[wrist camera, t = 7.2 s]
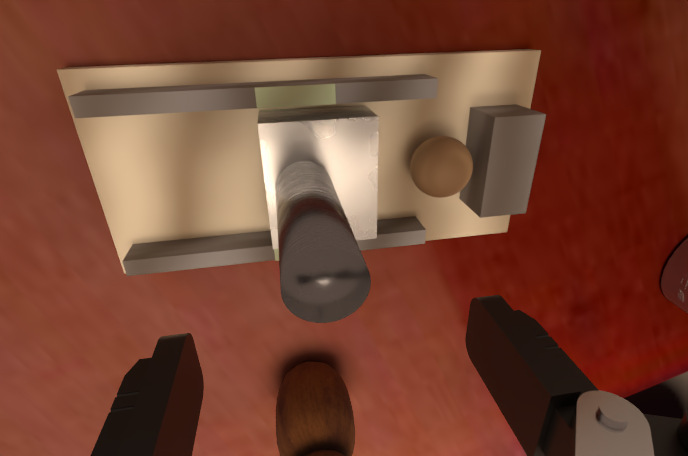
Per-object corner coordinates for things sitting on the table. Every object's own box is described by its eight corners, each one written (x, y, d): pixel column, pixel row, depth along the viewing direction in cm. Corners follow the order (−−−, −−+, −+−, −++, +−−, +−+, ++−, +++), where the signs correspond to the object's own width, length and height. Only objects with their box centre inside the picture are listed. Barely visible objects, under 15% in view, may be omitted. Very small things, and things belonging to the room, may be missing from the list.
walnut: (460, 127, 25) (488, 143, 21) (453, 182, 26) (479, 204, 23) (403, 131, 24) (424, 147, 21) (401, 187, 26) (420, 210, 23)
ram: (365, 105, 23) (451, 177, 12) (365, 216, 26) (433, 348, 15) (258, 111, 22) (251, 194, 11) (272, 225, 25) (276, 372, 15)
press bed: (529, 49, 24) (575, 53, 21) (498, 224, 30) (531, 253, 26) (67, 67, 21) (24, 77, 17) (130, 263, 26) (107, 302, 23)
